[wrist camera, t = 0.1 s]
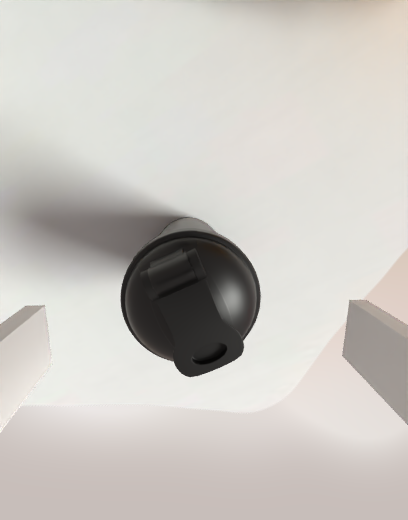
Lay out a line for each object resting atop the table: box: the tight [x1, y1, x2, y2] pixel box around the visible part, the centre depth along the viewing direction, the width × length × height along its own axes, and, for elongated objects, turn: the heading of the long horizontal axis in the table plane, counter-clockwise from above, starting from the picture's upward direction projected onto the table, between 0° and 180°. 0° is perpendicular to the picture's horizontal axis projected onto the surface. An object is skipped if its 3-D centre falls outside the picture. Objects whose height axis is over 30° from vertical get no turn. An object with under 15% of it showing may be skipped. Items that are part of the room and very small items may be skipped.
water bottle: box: [121, 218, 261, 377], centre depth 29 cm, size 10×10×23 cm
